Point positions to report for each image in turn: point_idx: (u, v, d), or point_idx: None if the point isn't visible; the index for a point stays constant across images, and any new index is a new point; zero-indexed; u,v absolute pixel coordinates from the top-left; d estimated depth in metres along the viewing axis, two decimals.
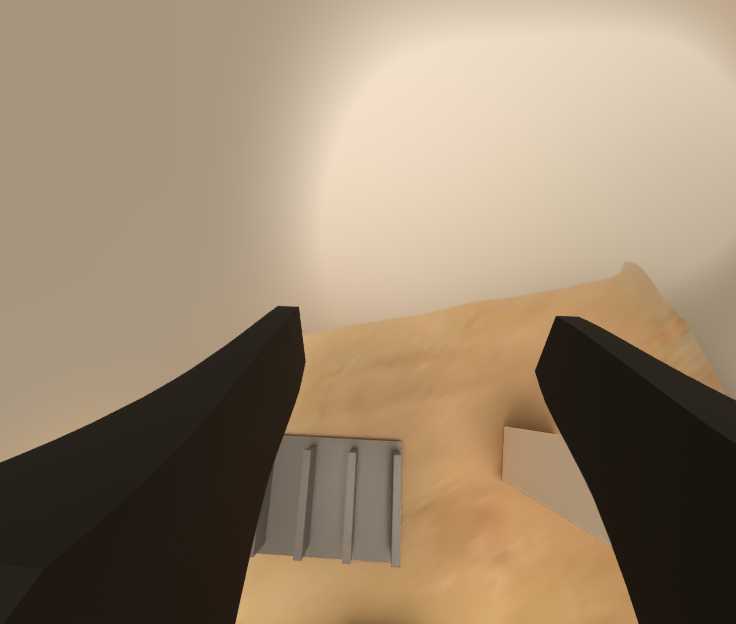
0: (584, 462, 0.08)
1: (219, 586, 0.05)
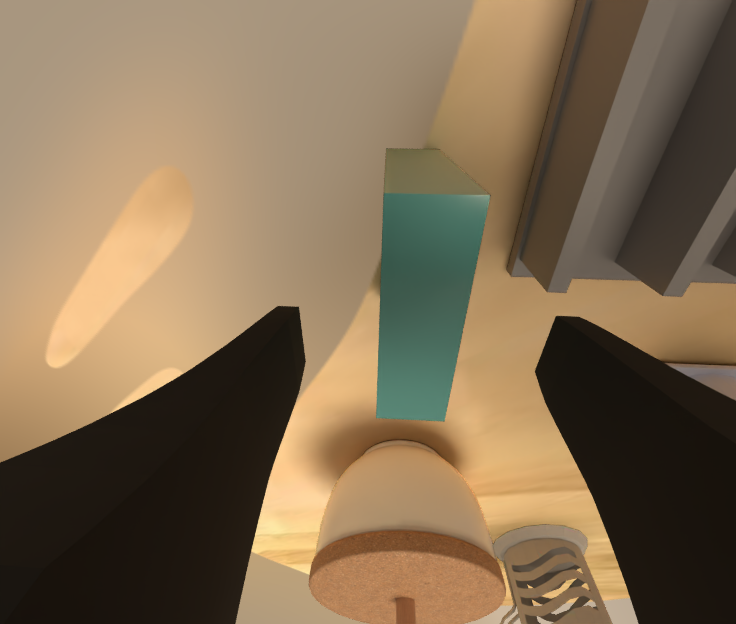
0: (584, 462, 0.08)
1: (219, 586, 0.05)
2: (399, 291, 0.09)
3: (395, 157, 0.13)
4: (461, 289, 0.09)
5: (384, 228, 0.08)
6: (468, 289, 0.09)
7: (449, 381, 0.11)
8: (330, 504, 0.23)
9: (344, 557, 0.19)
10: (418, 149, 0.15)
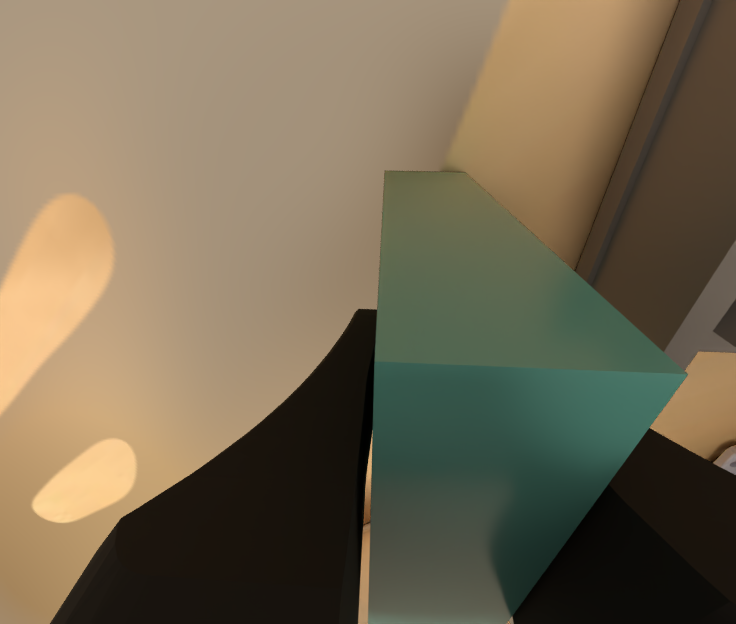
0: None
1: (357, 596, 0.05)
2: (412, 522, 0.04)
3: (399, 192, 0.08)
4: (554, 527, 0.04)
5: (377, 429, 0.03)
6: (569, 526, 0.04)
7: (501, 621, 0.06)
8: None
9: None
10: (433, 172, 0.10)
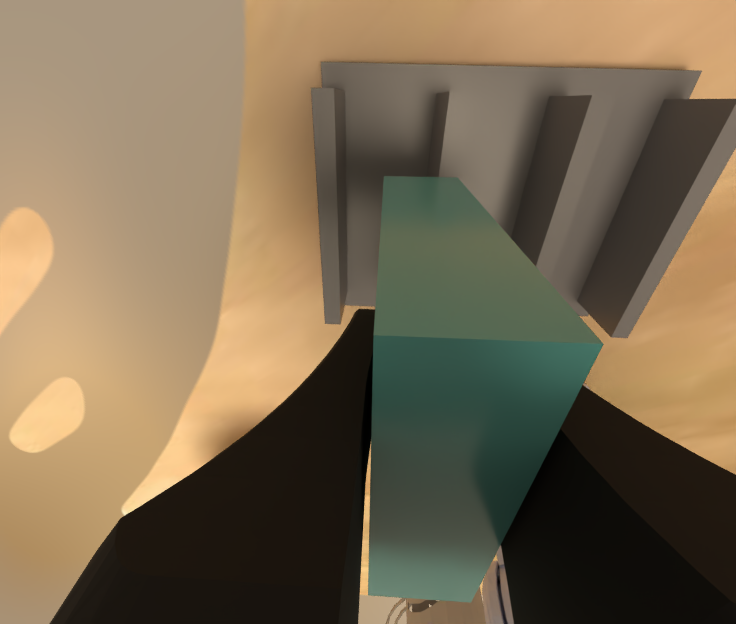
0: None
1: (357, 596, 0.05)
2: (405, 472, 0.05)
3: (396, 198, 0.09)
4: (518, 474, 0.05)
5: (376, 390, 0.04)
6: (530, 474, 0.05)
7: (483, 568, 0.07)
8: None
9: None
10: (428, 178, 0.11)
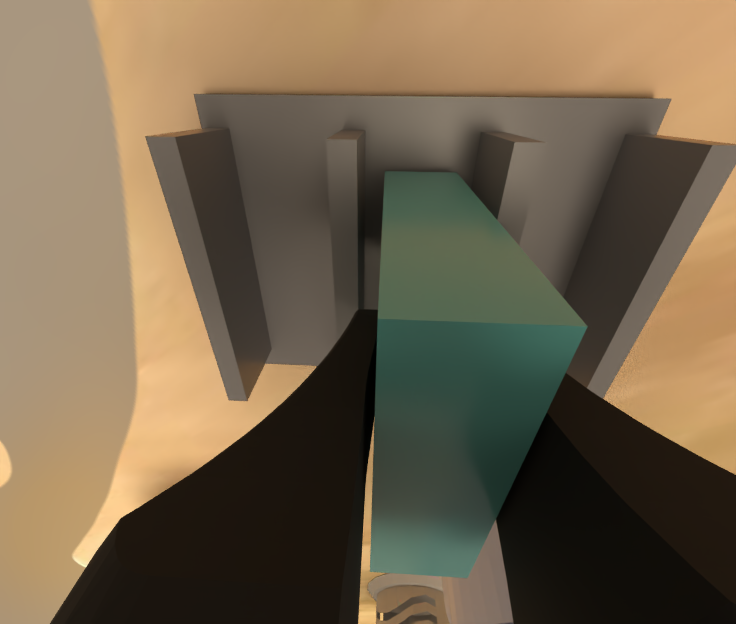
0: None
1: (357, 595, 0.05)
2: (405, 450, 0.05)
3: (397, 193, 0.09)
4: (511, 451, 0.05)
5: (379, 370, 0.04)
6: (523, 450, 0.05)
7: (479, 543, 0.07)
8: None
9: None
10: (428, 173, 0.11)
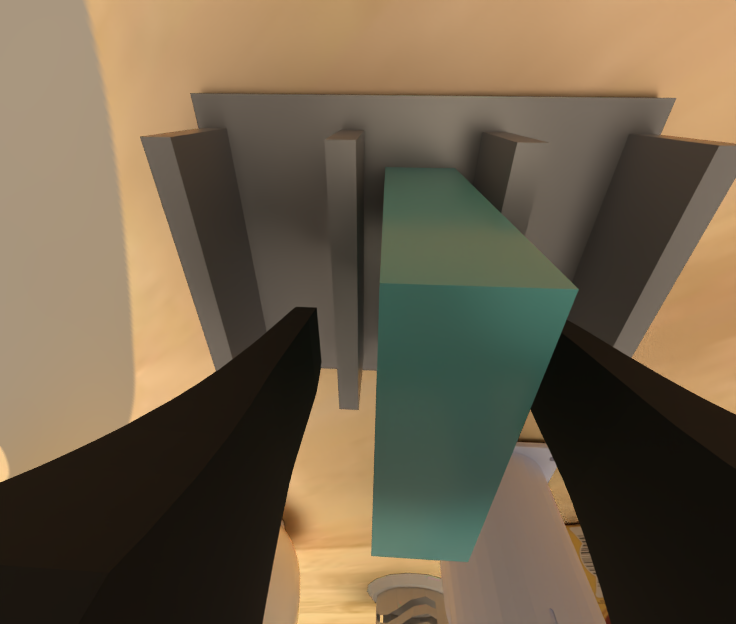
0: (562, 461, 0.08)
1: (249, 588, 0.05)
2: (407, 421, 0.06)
3: (397, 184, 0.09)
4: (509, 421, 0.05)
5: (381, 337, 0.05)
6: (519, 420, 0.05)
7: (479, 523, 0.07)
8: None
9: None
10: (427, 168, 0.12)
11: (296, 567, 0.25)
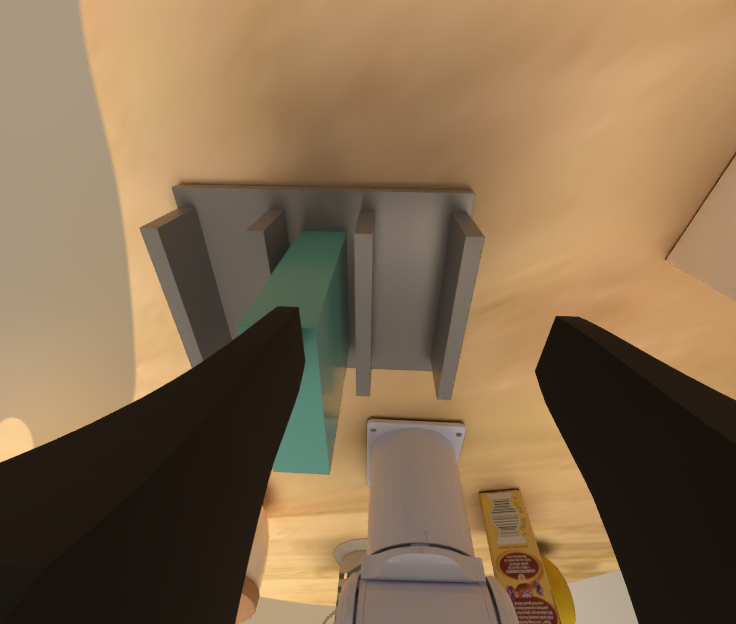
0: (584, 462, 0.08)
1: (219, 586, 0.05)
2: None
3: (294, 251, 0.15)
4: (313, 385, 0.12)
5: None
6: (318, 385, 0.12)
7: (324, 446, 0.13)
8: None
9: None
10: (327, 232, 0.18)
11: (265, 525, 0.31)
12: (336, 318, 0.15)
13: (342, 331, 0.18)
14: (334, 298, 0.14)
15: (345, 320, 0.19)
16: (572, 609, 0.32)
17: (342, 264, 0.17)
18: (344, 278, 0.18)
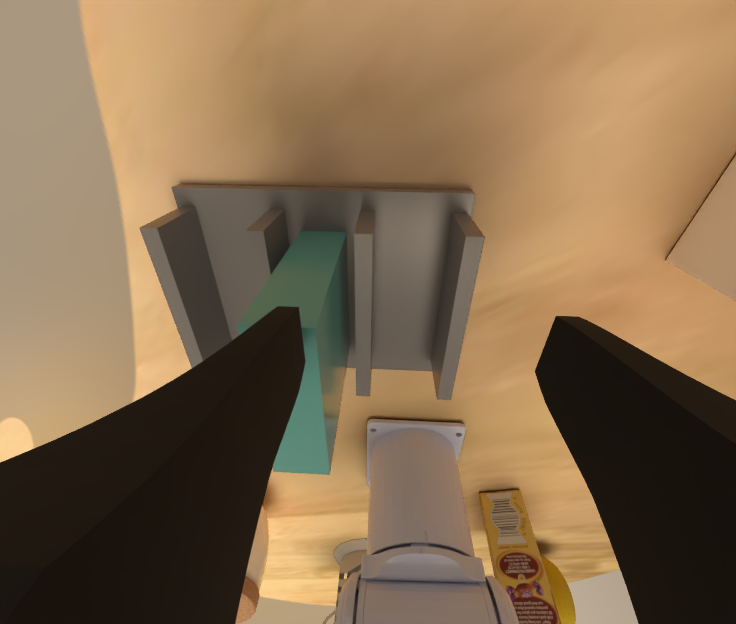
0: (584, 462, 0.08)
1: (219, 586, 0.05)
2: None
3: (294, 251, 0.15)
4: (313, 385, 0.12)
5: None
6: (318, 385, 0.12)
7: (324, 446, 0.13)
8: None
9: None
10: (327, 232, 0.18)
11: (265, 525, 0.31)
12: (336, 318, 0.15)
13: (342, 331, 0.18)
14: (334, 298, 0.14)
15: (345, 320, 0.19)
16: (572, 609, 0.32)
17: (342, 264, 0.17)
18: (344, 278, 0.18)
